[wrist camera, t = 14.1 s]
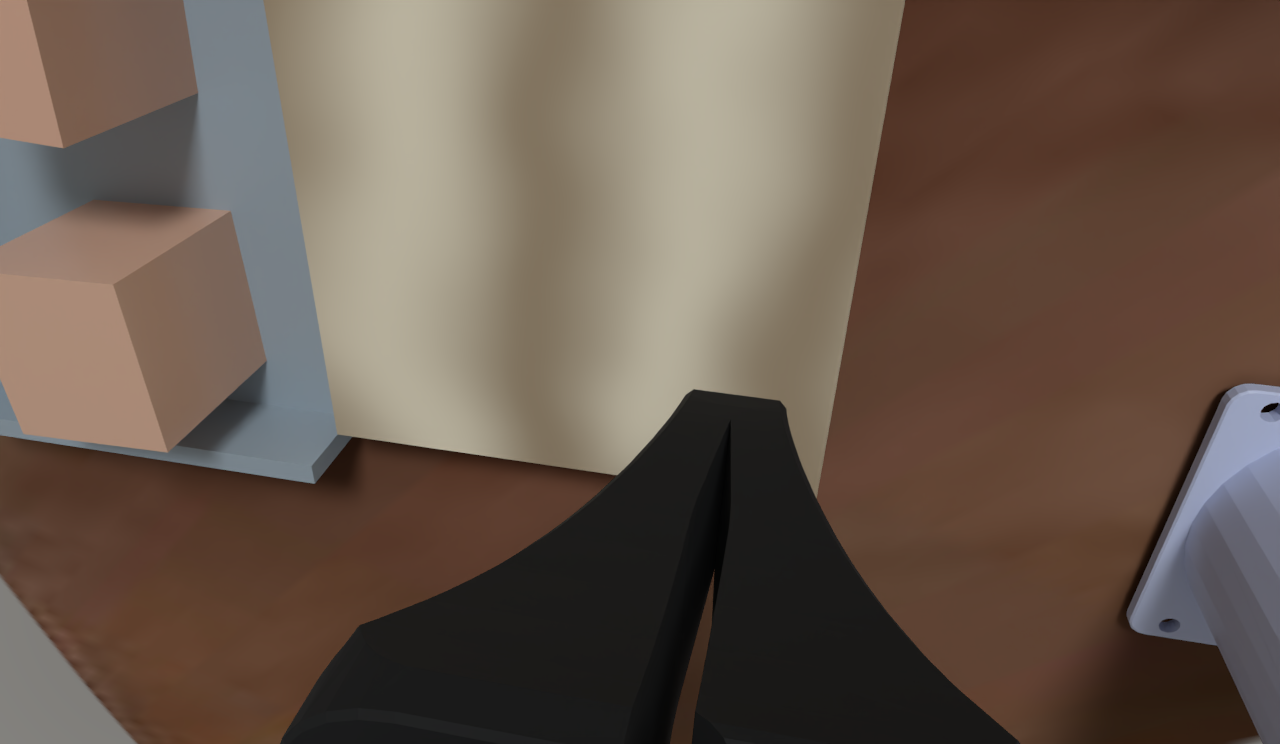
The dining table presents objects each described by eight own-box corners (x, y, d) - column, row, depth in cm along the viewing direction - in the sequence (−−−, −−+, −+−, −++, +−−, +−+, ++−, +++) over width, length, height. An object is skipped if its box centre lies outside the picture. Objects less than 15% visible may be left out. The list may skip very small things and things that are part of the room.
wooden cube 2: (112, 284, 20) (-47, 269, 20) (167, 452, 22) (23, 434, 22) (230, 210, 23) (93, 199, 24) (266, 360, 26) (140, 346, 26)
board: (918, -129, 17) (927, -124, 16) (816, 458, 25) (815, 504, 23) (289, -159, 19) (236, -157, 17) (369, 395, 26) (337, 434, 25)
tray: (267, -216, 19) (177, -222, 16) (364, 422, 27) (314, 484, 24) (-225, -235, 20) (-377, -243, 18) (9, 371, 29) (-71, 424, 26)
